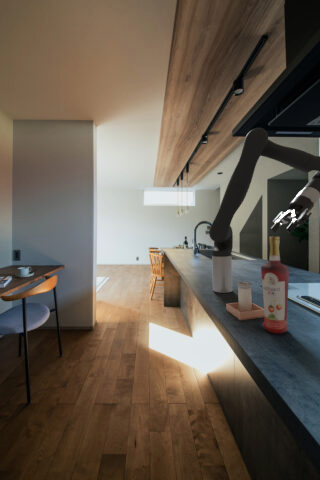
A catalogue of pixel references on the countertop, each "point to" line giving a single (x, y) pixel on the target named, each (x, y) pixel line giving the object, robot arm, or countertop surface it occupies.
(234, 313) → the dish
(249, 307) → the battery cell
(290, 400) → the countertop surface
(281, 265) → the liquor
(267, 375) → the countertop surface
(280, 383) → the countertop surface
